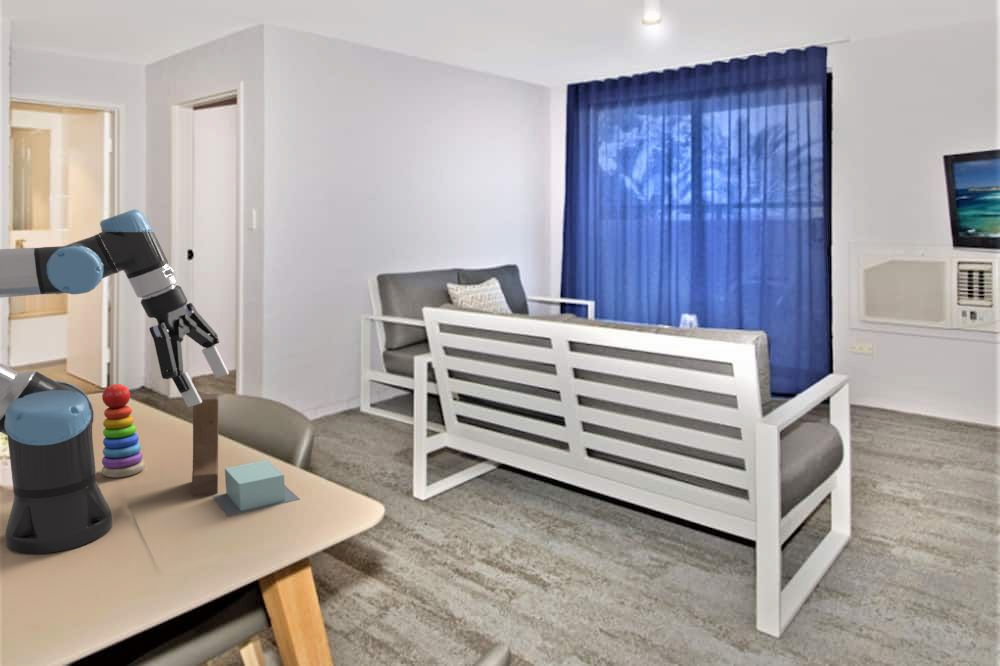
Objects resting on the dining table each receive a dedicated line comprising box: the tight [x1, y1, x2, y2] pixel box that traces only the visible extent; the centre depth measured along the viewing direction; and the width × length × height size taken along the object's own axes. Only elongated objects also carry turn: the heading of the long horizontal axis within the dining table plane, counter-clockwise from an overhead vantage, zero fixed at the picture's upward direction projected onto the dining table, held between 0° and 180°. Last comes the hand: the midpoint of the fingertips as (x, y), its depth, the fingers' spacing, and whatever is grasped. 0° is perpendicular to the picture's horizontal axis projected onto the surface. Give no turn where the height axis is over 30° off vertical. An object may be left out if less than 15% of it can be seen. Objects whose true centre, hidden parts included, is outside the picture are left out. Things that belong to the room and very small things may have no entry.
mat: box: [212, 485, 301, 517], centre depth 133 cm, size 13×11×1 cm
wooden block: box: [191, 393, 219, 498], centre depth 137 cm, size 9×4×18 cm, turn 21°
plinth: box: [224, 459, 286, 511], centre depth 133 cm, size 8×10×5 cm
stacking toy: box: [101, 383, 146, 478], centre depth 146 cm, size 8×8×19 cm
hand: (209, 389), depth 140 cm, fingers open, 13 cm apart
